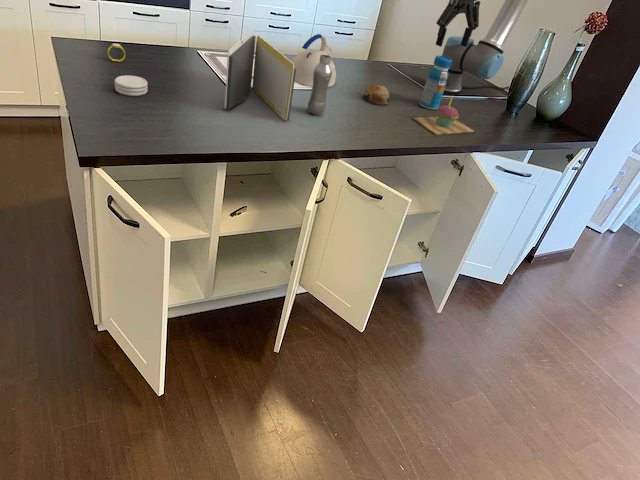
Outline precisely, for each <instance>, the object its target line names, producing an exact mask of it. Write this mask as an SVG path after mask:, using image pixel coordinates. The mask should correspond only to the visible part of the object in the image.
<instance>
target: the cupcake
mask: <svg viewBox="0 0 640 480" xmlns="http://www.w3.org/2000/svg"><path fill="white" fill-rule="evenodd" d="M453 97H454V94H451V96H450V100H449V102H448V105H441V106H439V107H438V109H436V115H437V117H438V124H439V125H441V126H444V127H450V125H451V124H452V123H453V122H454V121H455V120H458V119H459V116H460V114H459V111H458V110H457V109H456V108H455V107H453V106H451V105H452V101H453Z"/></svg>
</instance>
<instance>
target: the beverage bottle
mask: <svg viewBox="0 0 640 480" xmlns="http://www.w3.org/2000/svg"><path fill="white" fill-rule="evenodd" d="M451 63H452V59H450V58H448V57H445V56H442V55H435V57H434V61H433V66H432V68H430V70H429V71H428V76H427V77H426V79H425V84H424V87H423V90H422V93H421V97H420V100H419V105H420V107H423V108H424V109H428V110H432V111H433V110H437V109H438V108H439V107H440V104H441V100H442V98H443V95H444V93H445V92H444V89H445V87H446V85H447V79H448V78H449V73H448V69H449V68H450V66H451Z"/></svg>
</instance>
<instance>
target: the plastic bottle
mask: <svg viewBox="0 0 640 480" xmlns="http://www.w3.org/2000/svg"><path fill="white" fill-rule="evenodd" d="M330 60H332V57H331V56H330V55H321V56H320V59H319V61H320V63H319V64H318V65H317V66H316V67H315V68H314V72H313V87H311V92H310V96H309V99H308V102H307V111H308V112H309V113H310V114H312V115H317V116H318V115H323V113H324V112H325V110H326V107H327V101H326V100H327V93H328V88H329V87H328V85H329V82H330V79H331V75H332V71H331V68H330V65H329V63H330Z"/></svg>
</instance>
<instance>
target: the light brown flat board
mask: <svg viewBox="0 0 640 480" xmlns="http://www.w3.org/2000/svg"><path fill="white" fill-rule="evenodd" d="M412 120H413V121H415V122H416V123H417V124H418V125H420V126H422V128H425V129H427V130H428V132H431V133H432V134H433V135H434V136H441V135H454V134H456V135H458V134H470V133H475V130H474V129H472V128H471V127H469V126H467V125H465V124H464V123H462V122H461V121H459V120H458V119H456V120H455V121H454V122H453V123H452V124H451V125H450V127H444V126H441V125H439V124H438V116H422V117H412Z"/></svg>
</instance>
